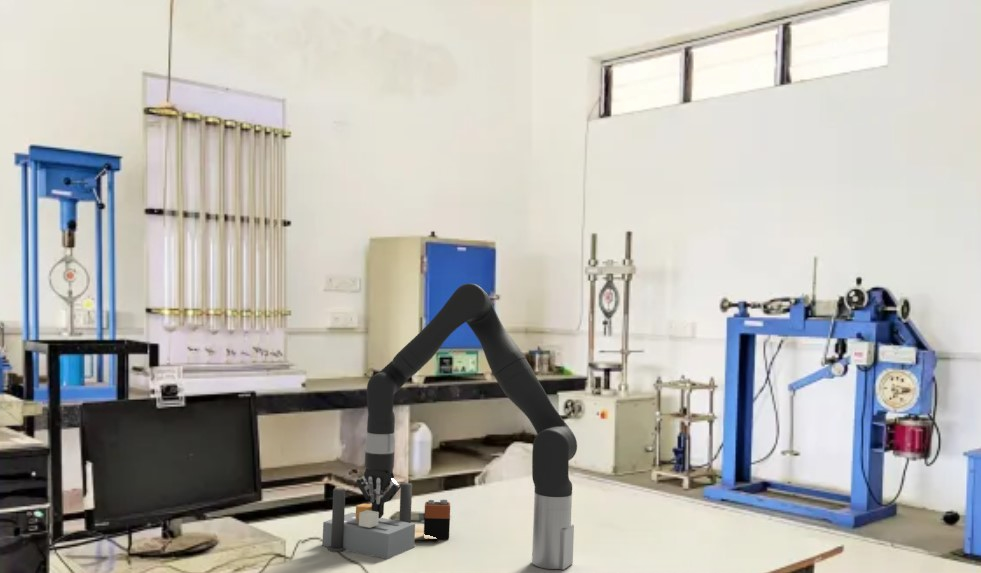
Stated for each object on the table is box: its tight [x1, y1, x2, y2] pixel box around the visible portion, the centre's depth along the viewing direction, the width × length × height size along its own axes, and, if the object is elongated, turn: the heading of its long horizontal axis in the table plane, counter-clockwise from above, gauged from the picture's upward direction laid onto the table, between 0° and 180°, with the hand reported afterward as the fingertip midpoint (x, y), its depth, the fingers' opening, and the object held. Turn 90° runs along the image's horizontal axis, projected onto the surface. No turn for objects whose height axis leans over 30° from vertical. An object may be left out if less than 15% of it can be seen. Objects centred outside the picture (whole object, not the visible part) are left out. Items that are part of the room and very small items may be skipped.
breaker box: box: [322, 512, 416, 560], centre depth 214 cm, size 20×12×6 cm, turn 63°
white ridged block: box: [359, 510, 379, 528], centre depth 210 cm, size 4×4×3 cm
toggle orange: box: [355, 503, 372, 519], centre depth 217 cm, size 4×4×3 cm
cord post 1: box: [327, 487, 346, 553], centre depth 210 cm, size 4×4×15 cm
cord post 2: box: [398, 482, 413, 523], centre depth 219 cm, size 4×4×15 cm
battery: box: [423, 499, 451, 541], centre depth 224 cm, size 4×7×10 cm, turn 93°
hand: (377, 517), depth 215 cm, fingers closed
